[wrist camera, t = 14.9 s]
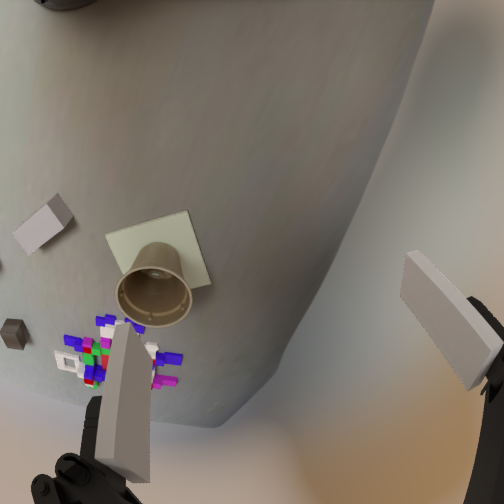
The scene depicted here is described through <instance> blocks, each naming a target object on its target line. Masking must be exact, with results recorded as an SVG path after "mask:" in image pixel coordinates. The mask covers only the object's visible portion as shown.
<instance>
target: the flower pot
mask: <svg viewBox="0 0 504 504" xmlns="http://www.w3.org/2000/svg"><path fill="white" fill-rule="evenodd" d="M152 273H156V274H159V276H156V275H152ZM115 298H116V302H117V305H118V307H119V309H120V310H121V311H122V313H123V314H124V315H125V316H126V317H127V318H129V319H130V320H131V321H133V322H135V323H137V324H139V325H142V326H146V327H153V328H162V327H168V326H171V325H174V324H176V323H178V322H180V321H181V320H182V319H184V318H185V317H186V315H187V314H188V313H189V311H190V309H191V306H192V292H191V289H190V287H189V285H188V284H187V282H186V281H185V279H184V276H183V272H182V267H181V261H180V257H179V255H178V253H177V251H176V250H175V249H174V248H173V247H172V246H170V245H168V244H166V243H162V242H152V243H150V244H148V245H146V246H144V247H143V248H141V250H140V251H139V253H138V255H137V257H136V259H135V261H134V262H133V264H132V266H131V268H130V270H129V271H128V272H126V273H125V274H124V275H123V276H122V277H121V278H120V280H119V281H118V283H117V286H116V290H115Z"/></svg>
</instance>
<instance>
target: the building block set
mask: <svg viewBox="0 0 504 504" xmlns="http://www.w3.org/2000/svg"><path fill="white" fill-rule="evenodd" d="M126 322H131V324H132V326H133V327H134V329H135V331H136V333H137V334H138V336H139V333H141V334H144V326H142V325H139V324H137V323H135V322H133V321H131V320H130V319H129V318H125V321H121V320H115V316H113V315H108V314H106V315H105V318H104V317H99V316H96V326H100V330H101V341H100V343H101V344H100V343H95V342H93V339H92V338H88V337H84V339H81V338H78V337H73V336H69V335H64V343H65V345H68V346H73V347H74V349H75V351H78V352H83V362H81V361H80V358H79V356H78V355H73V354H69V353H64V352H60V351H56V350H55V352H54V353H55V357H56V362H57V366H58V369H63V370H67V371H71V372H76V373H77V376H78V377H79V378H83V379H84V382H85V386H88V387H89V388H93V389H96V388H97V386H98V382H102V381H105V376H106V370H107V365H108V360H109V354H110V349H111V339H113V335H114V330H115V326H116V324H121V323H126ZM144 346H145V348H146V349H147V351H148V353H149V354H150V356H151V357H152V359H153V366H152V382H151V390H152V388H156V389H161V385H167V386H176V383H177V377H171V376H163V375H156V374H155V366H154V365H157V366H164V363H165V364H173V365H181V361H182V357H183V356H182V354H177V353H169V352H165V354H164V353H157V352H156V351H157V350H158V349H159V346H158V344H157V343H153V342H147V343H146V344H144ZM94 355H97V356H101V355H102V366H100V365H96V364H95V358H94ZM65 358H68V359H73V360H75V366H76V368H74V367H70V366H66V363H65Z"/></svg>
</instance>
